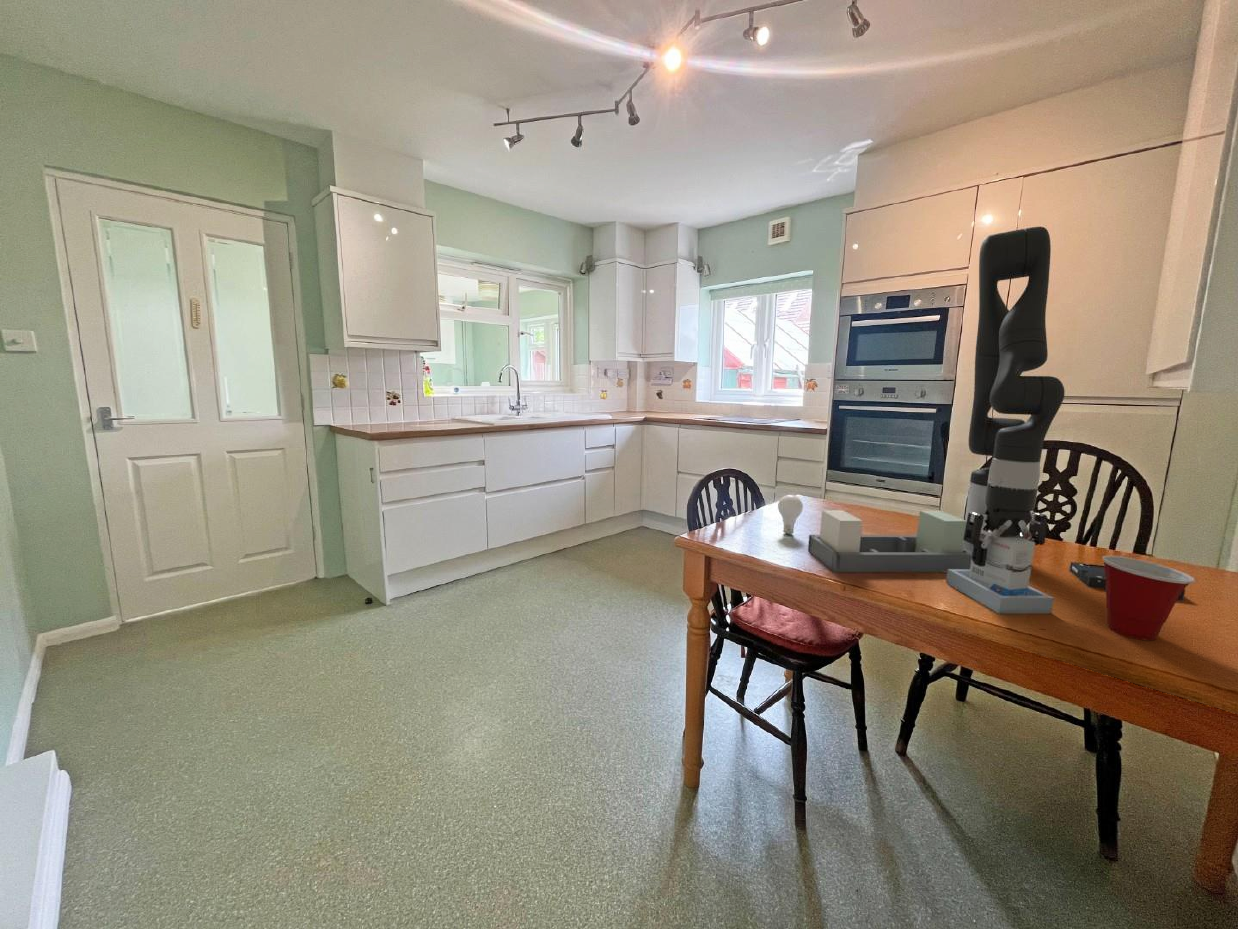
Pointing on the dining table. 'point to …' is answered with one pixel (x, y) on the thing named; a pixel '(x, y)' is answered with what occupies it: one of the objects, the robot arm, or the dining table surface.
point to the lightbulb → (789, 511)
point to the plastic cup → (1140, 595)
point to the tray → (1000, 604)
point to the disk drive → (1095, 575)
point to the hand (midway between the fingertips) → (999, 565)
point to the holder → (888, 556)
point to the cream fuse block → (840, 530)
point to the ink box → (1006, 566)
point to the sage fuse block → (940, 532)
